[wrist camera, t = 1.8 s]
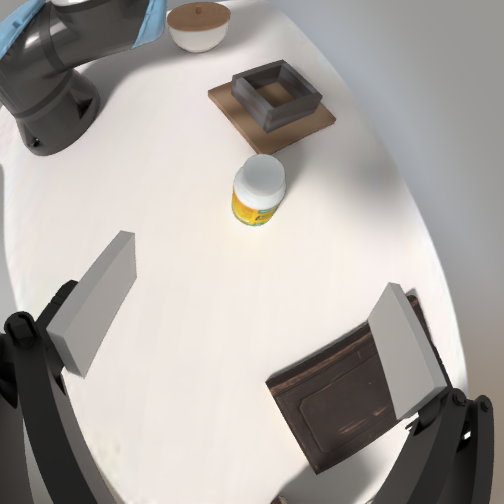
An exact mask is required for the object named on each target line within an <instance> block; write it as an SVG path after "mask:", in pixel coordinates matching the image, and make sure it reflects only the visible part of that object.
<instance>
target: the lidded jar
mask: <svg viewBox="0 0 504 504" xmlns="http://www.w3.org/2000/svg"><path fill="white" fill-rule="evenodd" d="M229 19H230V10H229V9H228V8H227V7H225V6H223V5H221V4H218V3H212V2H196V3H190V4H186V5H182V6H180V7H178V8H175V9H174V10H172V11H171V12H170V13H169V14H168V16H167V22H168V25H169V31H170V34H171V37H172V39H173V41H174V42H175V43H176V44H177V45H178V46H179V47H181V48H183V49H184V50H186V51H188V52H192V53H202V52H206V51H209V50H211V49H212V48H213V47H214V46H216V45H217V44H219V43H220V42H221V41H222V39H223V38H224V36H225V35H226V32H227V29H228V25H229Z"/></svg>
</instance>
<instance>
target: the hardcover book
mask: <svg viewBox="0 0 504 504" xmlns="http://www.w3.org/2000/svg"><path fill="white" fill-rule="evenodd" d="M407 299H408V301H409V303H410V305H411V307H412V309H413V311H414V312H415V314H416V316H417V318H418V320H419V322H420V325H421V327H422V329H423V331H424V333H425V335H426V337H427V339H428V340H430V341H431V338H430V335H429V332H428V328H427V325H426V322H425V319H424V317H423V314H422V311H421V308H420V305H419V303H418V300H417V298H416V297H415V296H413V295H410V296H408V297H407ZM431 342H432V341H431ZM265 383H266V385H267V387H268V389H269V390H270V392H271V394H272V396H273V398H274V400H275V402H276V404H277V406H278V408H279V409H280V411H281V413H282V415H283V417H284V419H285V421H286V422H287V424H288V426H289V428H290V430H291V431H292V433H293V435H294V437H295V439H296V440H297V442H298V444H299V446H300V448H301V449H302V451H303V453H304V455H305V456H306V458H307V460H308V462H309V463H310V465H311V467H312V468H313V470H314V472H315V474H316V475H318V474H320V473H321V472H323V471H325V470H327V469H329V468H331V467H333V466H334V465H336V464H338V463H340V462H341V461H343V460H345V459H346V458H348V457H350V456H351V455H353V454H355V453H356V452H358V451H359V450H361V449H363V448H364V447H366V446H367V445H369V444H370V443H372V442H373V441H375V440H376V439H377V438H379V437H380V436H382V435H383V434H384V433H386V432H387V431H389V430H390V429H391V428H393V427H394V426H395V425H397V424H398V423H399V422H400V421H402V420H403V419H399V420H397V417H396V413H395V409H394V405H393V401H392V398H391V394H390V390H389V387H388V383H387V379H386V376H385V373H384V369H383V366H382V363H381V359H380V356H379V353H378V350H377V347H376V344H375V340H374V337H373V334H372V331H371V329H370V326H369V324H368V325H366V326H364V327H363V328H361V329H360V330H358V331H357V332H355V333H354V334H352V335H350V336H349V337H347V338H345V339H344V340H342V341H341V342H339V343H337V344H336V345H334V346H332V347H330V348H329V349H327V350H325V351H324V352H322V353H320V354H318V355H317V356H315V357H313V358H311V359H309V360H308V361H306V362H304V363H302V364H300V365H298V366H296V367H295V368H293V369H291V370H289V371H287V372H285V373H283V374H281V375H279V376H277V377H275V378H273V379H271V380H269V381H267V382H265Z"/></svg>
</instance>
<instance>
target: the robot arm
mask: <svg viewBox="0 0 504 504" xmlns="http://www.w3.org/2000/svg"><path fill="white" fill-rule="evenodd" d="M45 1H46V0H29V1H28V2H26V3H25V4H23V5H22V6H20V7H19V8H18V9H16V10H15V11H14V12H13V13H12V14H10V15H9V16H8V17H7V18H6V19H5V20H4V21H2V23H1V24H0V101H1V102H2V104H3V105H4V106H5V107H6V108H7V109H8V111H9V112H10V113H11V114H12V115H13V116H14V117H15V119H16V123H17V126H18V129H19V132H20V135H21V138H22V140H23V143H24V144H25V146H26V147H27V148H28V149H29V150H30V151H31V152H32V153H33V154H35V155H38V156H48V155H52V154H55V153H57V152H59V151H61V150H63V149H65V148H66V147H68V146H69V145H71V144H72V143H73V142H74V141H76V140H77V139H78V138H79V137H80V136H81V135H82V134H83V133H84V132H85V131H86V129H87V128H88V127H89V125H90V124H91V123H92V121H93V119H94V118H95V116H96V113H97V111H98V108H99V95H98V93H97V91H96V89H95V87H94V85H93V84H92V83H91V82H90V81H89V80H88V79H86V78H85V77H84V76H83V75H81V74H80V73H79V72H78V71H76V70H75V69H74V68H75V67H77V66H80V65H82V64H85V63H88V62H90V61H93V60H96V59H99V58H102V57H105V56H108V55H111V54H115V53H118V52H121V51H125V50H128V49H130V50H131V49H134V48H135V47H137V46H140V45H143V44H146V43H150V42H153V41H155V40H157V39H158V38H159V37H160V36H161V35H162V33H163V31H164V28H165V21H166V11H167V0H51V1H49V2H47V3H45ZM136 278H137V275H136V257H135V233H131V232H126V231H120V232H119V233H118V235H117V236H116V237H115V238H114V239H113V240H112V241H111V243H110V244H109V245H108V246H107V247H106V249H105V250H104V251H103V252H102V253H101V255H100V256H99V257H98V258H97V260H96V261H95V262H94V263H93V265H92V266H91V267H90V268H89V270H88V271H87V272H86V273H85V275H84V276H83V277H82V279H81V280H80V281H79V282H77V281H74V280H70V281H68V282H67V283H65V284H64V285H62V286H61V288H60V289H59V290H58V291H57V293H56V295H55V296H54V297H53V298H52V299H51V302H50V303H48V305H47V306H46V308H45V309H44V310H43V312H42V313H41V315H40V316H39V317H38V319H37V320H36V322H35V321H34V319H33V317H32V316H31V315H30V314H29V313H28V312H24V311H21V312H16V313H14V314H12V315H11V316H10V317H9V318H8V319H7V320H6V322H5V324H4V330H5V332H6V334H2V333H0V504H34V502H33V499H32V493H31V489H30V483H29V478H28V471H27V464H26V456H25V446H24V432H23V418H24V422H25V426H26V430H27V434H28V437H29V441H30V444H31V447H32V450H33V454H34V456H35V460H36V462H37V465H38V468H39V471H40V473H41V476H42V478H43V481H44V483H45V485H46V488H47V490H48V493H49V495H50V497H51V499H52V501H53V503H54V504H117V503H116V501H115V499H114V498H113V496H112V494H111V493H110V491H109V489H108V487H107V485H106V484H105V482H104V480H103V478H102V476H101V474H100V472H99V470H98V468H97V466H96V464H95V462H94V460H93V458H92V456H91V453H90V451H89V449H88V447H87V444H86V442H85V440H84V437H83V435H82V432H81V430H80V427H79V425H78V422H77V419H76V417H75V414H74V411H73V408H72V405H71V402H70V399H69V396H68V393H67V389H66V386H65V382H64V379H63V376H62V374H61V371H62V369H63V367H64V366H65V368H66V370H67V371H68V373H69V374H72V375H74V376H76V377H79V378H81V379H85V377H86V374H87V372H88V370H89V368H90V366H91V364H92V361H93V359H94V357H95V355H96V353H97V351H98V349H99V347H100V345H101V343H102V341H103V339H104V337H105V335H106V333H107V331H108V329H109V327H110V325H111V323H112V321H113V320H114V318H115V316H116V314H117V312H118V310H119V308H120V306H121V305H122V303H123V301H124V299H125V297H126V296H127V294H128V292H129V290H130V289H131V287H132V285H133V283H134V282H135V280H136ZM367 320H368V323H369V326H370V329H371V331H372V334H373V337H374V340H375V344H376V347H377V350H378V353H379V356H380V359H381V363H382V366H383V369H384V373H385V376H386V379H387V383H388V387H389V390H390V394H391V398H392V401H393V405H394V409H395V413H396V417H397V420H399V419H407V418H410V417H411V416H413V415H414V414H415V413H417V412H418V415H419V417H418V418H416V419H415V420H414V421H412V422H411V423H410V424H408V425H407V426H406V428H405V429H408V428H409V427H411V426H412V428H411V429H410V430H409V431H410V433H409V435H408V437H407V439H406V442H405V444H404V446H403V448H402V450H401V452H400V454H399V456H398V458H397V460H396V462H395V464H394V466H393V467H392V469H391V471H390V473H389V475H388V477H387V478H386V480H385V482H384V483H383V485H382V487H381V488H380V490H379V492H378V493H377V495H376V497H375V498H374V500H373V501H372V503H371V504H489V501H490V494H491V486H492V477H493V463H494V418H493V407H492V403H491V401H490V399H489V398H488V397H486V396H485V395H481V396H479V397H478V398H477V399H475V400H474V401H473V400H469V399H466V396H465V394H464V393H463V392H462V391H461V390H460V389H457V388H453V387H452V384H451V382H450V379H449V377H448V374H447V372H446V370H445V367H444V365H443V364H442V360H441V358H439V353H438V351H437V349H436V347H435V346H434V345H433V344H432V342H431V341H430V340H428V339H427V337H426V335H425V333H424V331H423V329H422V327H421V325H420V322H419V320H418V318H417V316H416V314H415V312H414V311H413V309H412V307H411V305H410V303H409V301H408V299H407V297H406V295H405V293H404V292H403V290H402V288H401V286H400V284H395V283H390V282H389V283H388V284H387V286H386V288H385V290H384V292H383V293H382V295H381V297H380V298H379V300H378V302H377V304H376V305H375V307H374V309H373V310H372V312H371V313H370V315H369V317H368V318H367ZM470 431H471V433H470V437H468V438H467V439H465V438H464V435H465V434H467V433H468V432H470Z"/></svg>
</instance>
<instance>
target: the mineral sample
mask: <svg viewBox="0 0 504 504" xmlns="http://www.w3.org/2000/svg"><path fill="white" fill-rule="evenodd" d="M271 504H287V502H286V499H285V498H284V497H283V498H282V497H279V499H277V500H276V501H274V502H272V503H271Z"/></svg>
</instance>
